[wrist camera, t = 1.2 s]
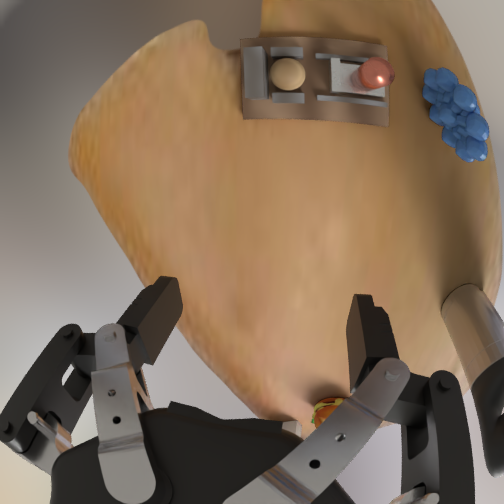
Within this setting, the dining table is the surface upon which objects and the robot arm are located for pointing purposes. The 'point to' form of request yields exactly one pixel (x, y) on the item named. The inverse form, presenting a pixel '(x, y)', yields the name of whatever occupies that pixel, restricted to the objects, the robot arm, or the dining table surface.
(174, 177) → the dining table surface
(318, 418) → the cheeseburger
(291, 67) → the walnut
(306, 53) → the base
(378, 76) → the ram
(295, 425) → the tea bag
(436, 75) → the grapes
